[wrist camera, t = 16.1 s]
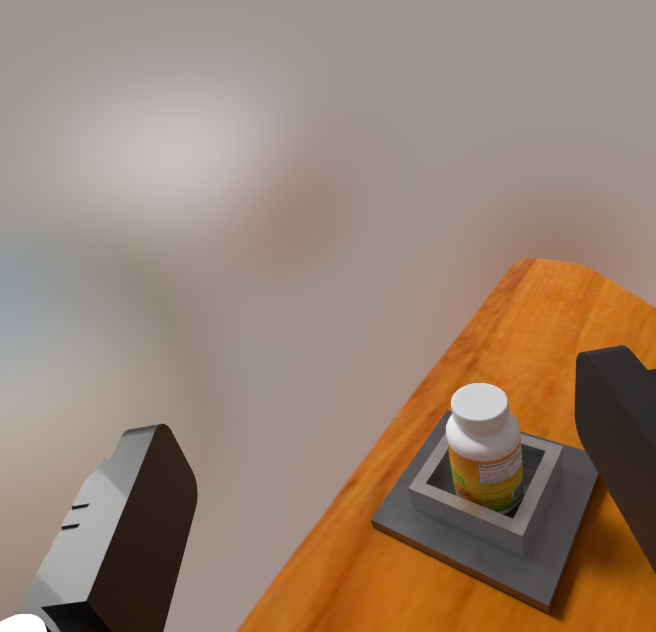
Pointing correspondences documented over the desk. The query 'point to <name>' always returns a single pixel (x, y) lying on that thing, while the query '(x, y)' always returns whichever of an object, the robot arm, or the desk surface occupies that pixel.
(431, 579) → the desk surface
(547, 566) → the socket plate
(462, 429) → the supplement bottle
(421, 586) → the desk surface
